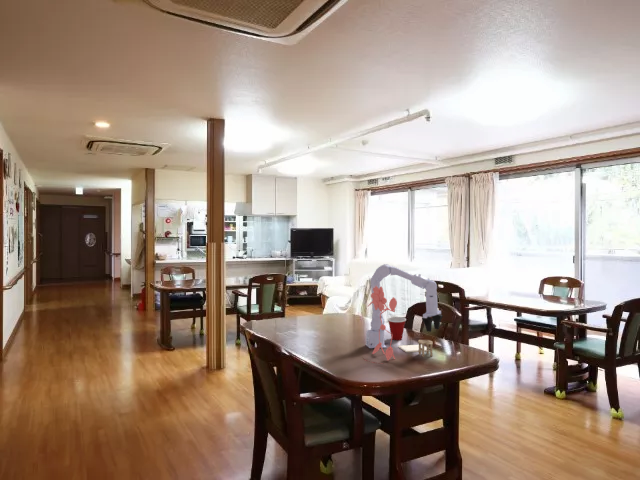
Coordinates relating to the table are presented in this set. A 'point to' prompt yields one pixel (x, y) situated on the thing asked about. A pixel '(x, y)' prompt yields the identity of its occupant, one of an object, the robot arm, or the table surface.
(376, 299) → the pink flower plant
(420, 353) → the stool
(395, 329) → the plastic cup
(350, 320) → the table surface
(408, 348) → the board
